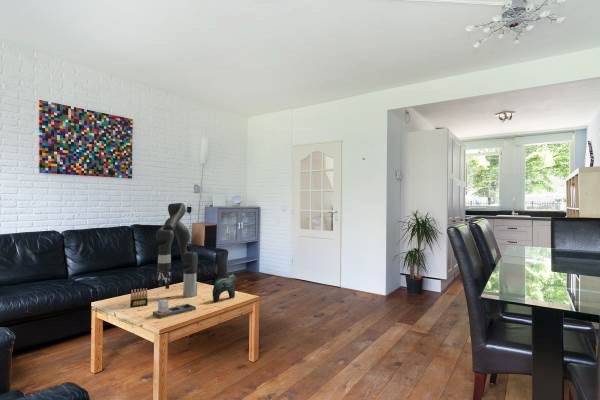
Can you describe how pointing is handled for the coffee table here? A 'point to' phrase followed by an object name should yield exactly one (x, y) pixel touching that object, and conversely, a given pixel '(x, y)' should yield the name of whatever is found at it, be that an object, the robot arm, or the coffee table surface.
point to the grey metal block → (162, 306)
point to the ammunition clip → (139, 298)
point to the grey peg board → (175, 310)
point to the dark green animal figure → (224, 287)
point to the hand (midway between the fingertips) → (163, 287)
